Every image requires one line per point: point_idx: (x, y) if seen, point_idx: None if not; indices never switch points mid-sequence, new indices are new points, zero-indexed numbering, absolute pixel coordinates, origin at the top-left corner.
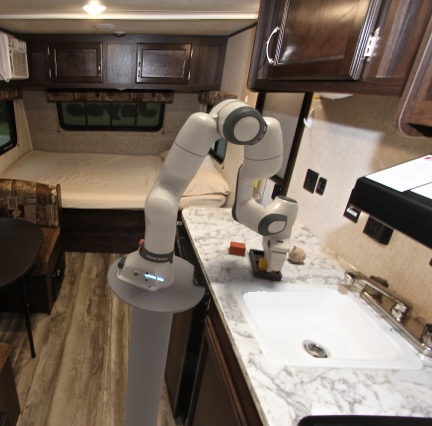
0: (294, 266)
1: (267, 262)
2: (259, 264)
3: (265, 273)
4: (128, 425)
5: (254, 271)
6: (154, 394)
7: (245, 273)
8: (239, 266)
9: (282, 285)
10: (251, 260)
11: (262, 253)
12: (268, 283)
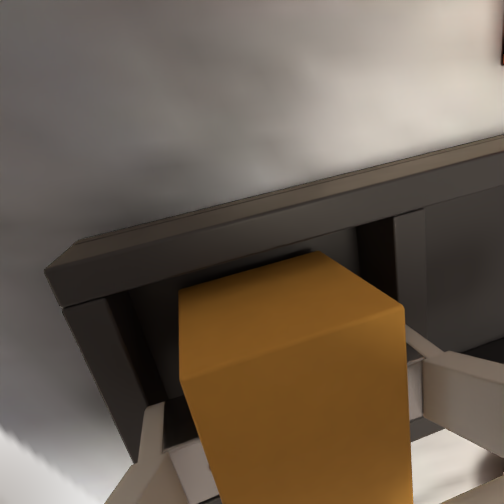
0: (456, 474)
1: (291, 445)
2: (273, 296)
3: (101, 393)
4: None
5: (119, 239)
6: None
7: (84, 120)
8: (228, 13)
9: (113, 489)
10: (412, 163)
11: None
12: (49, 394)
